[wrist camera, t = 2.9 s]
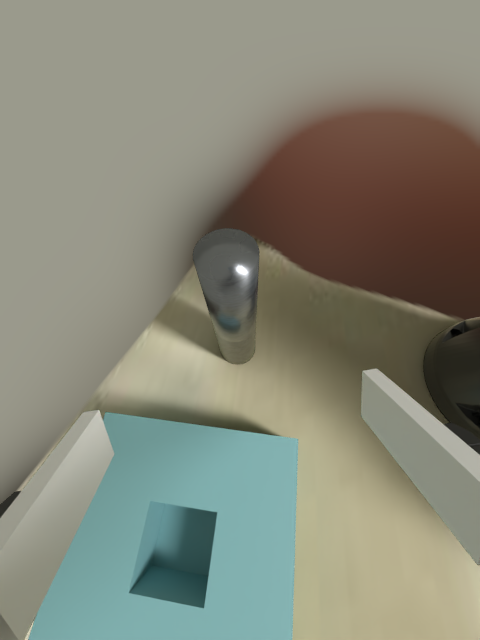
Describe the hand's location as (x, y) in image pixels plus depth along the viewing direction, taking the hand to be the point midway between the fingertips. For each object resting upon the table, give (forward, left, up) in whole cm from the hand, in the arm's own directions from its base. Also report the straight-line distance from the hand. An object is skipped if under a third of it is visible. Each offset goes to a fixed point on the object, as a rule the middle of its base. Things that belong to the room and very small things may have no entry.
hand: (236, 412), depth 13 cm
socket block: (+4, +9, -18) cm, 20 cm away
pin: (+2, -10, -18) cm, 20 cm away
